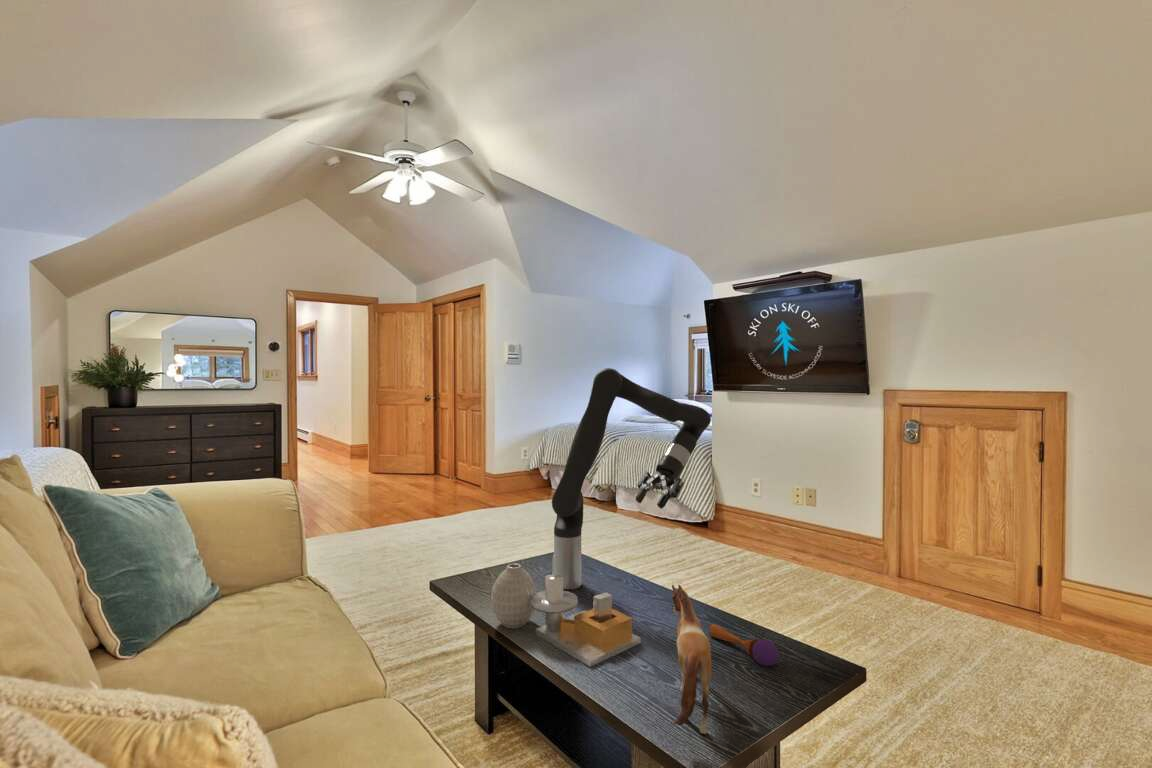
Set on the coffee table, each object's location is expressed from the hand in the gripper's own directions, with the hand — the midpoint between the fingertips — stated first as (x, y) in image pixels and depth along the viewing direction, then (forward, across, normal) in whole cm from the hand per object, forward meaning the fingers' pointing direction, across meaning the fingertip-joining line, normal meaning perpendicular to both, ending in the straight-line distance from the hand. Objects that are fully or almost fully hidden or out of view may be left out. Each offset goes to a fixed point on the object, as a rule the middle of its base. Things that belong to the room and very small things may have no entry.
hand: (648, 504), depth 161 cm
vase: (+48, -20, -1) cm, 51 cm away
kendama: (+22, +31, +25) cm, 45 cm away
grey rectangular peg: (+37, +3, +7) cm, 38 cm away
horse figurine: (+44, +34, +3) cm, 56 cm away
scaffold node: (+41, -2, +5) cm, 41 cm away
